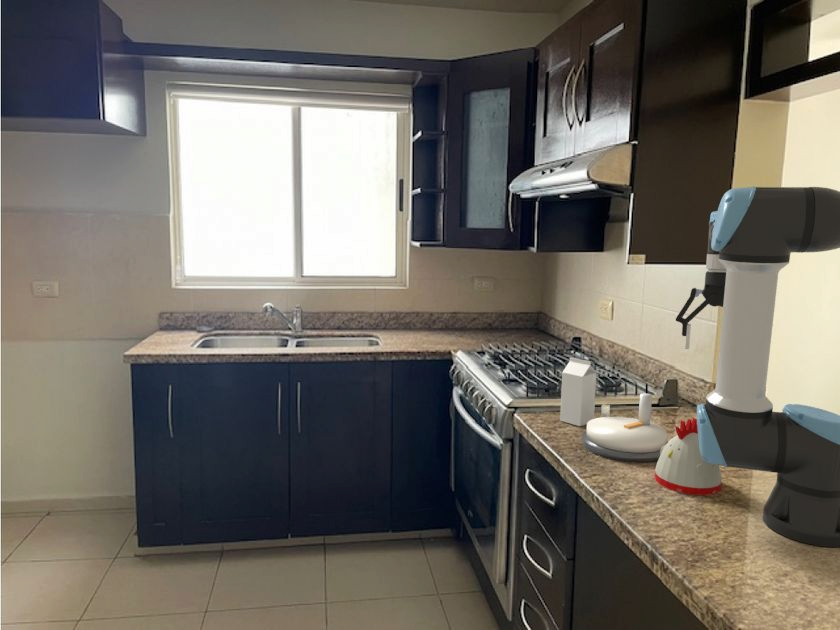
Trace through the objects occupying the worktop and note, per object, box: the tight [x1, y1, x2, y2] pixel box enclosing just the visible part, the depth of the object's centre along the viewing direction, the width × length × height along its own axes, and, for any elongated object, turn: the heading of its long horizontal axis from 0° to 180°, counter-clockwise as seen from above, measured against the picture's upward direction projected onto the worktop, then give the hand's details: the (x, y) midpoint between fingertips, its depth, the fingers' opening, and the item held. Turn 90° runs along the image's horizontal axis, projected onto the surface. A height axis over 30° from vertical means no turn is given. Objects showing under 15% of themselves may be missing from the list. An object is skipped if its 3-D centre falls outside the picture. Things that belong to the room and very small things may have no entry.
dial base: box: [581, 403, 669, 464], centre depth 163 cm, size 25×22×7 cm
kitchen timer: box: [654, 417, 722, 496], centre depth 139 cm, size 14×14×15 cm
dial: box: [585, 392, 668, 453], centre depth 161 cm, size 20×20×11 cm
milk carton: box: [559, 357, 597, 427], centre depth 182 cm, size 7×7×19 cm
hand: (715, 351), depth 163 cm, fingers open, 13 cm apart
